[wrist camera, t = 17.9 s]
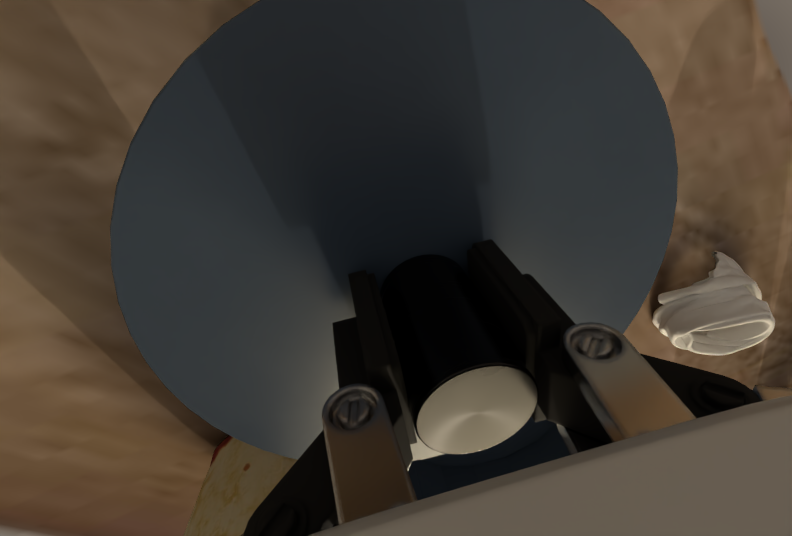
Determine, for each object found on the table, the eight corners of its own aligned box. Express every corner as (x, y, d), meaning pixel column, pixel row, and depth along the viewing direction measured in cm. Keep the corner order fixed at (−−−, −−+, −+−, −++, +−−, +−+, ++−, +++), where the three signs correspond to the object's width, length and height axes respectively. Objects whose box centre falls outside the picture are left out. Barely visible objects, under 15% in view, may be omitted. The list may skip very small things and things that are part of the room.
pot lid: (249, 485, 17) (231, 662, 13) (-35, 35, 8) (-477, 57, 4) (617, 381, 19) (725, 505, 14) (708, -100, 10) (1098, -212, 5)
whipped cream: (746, 280, 30) (822, 317, 26) (679, 348, 32) (741, 393, 28) (699, 233, 27) (779, 268, 23) (626, 313, 28) (689, 359, 24)
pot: (397, 485, 35) (411, 563, 30) (358, 348, 26) (369, 425, 21) (575, 438, 36) (618, 506, 31) (593, 291, 27) (656, 352, 22)
